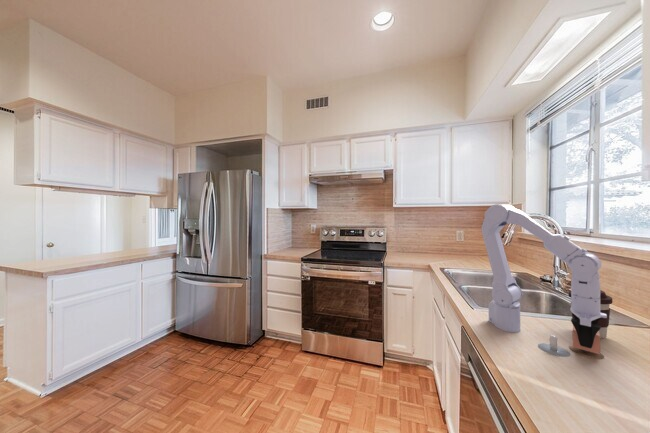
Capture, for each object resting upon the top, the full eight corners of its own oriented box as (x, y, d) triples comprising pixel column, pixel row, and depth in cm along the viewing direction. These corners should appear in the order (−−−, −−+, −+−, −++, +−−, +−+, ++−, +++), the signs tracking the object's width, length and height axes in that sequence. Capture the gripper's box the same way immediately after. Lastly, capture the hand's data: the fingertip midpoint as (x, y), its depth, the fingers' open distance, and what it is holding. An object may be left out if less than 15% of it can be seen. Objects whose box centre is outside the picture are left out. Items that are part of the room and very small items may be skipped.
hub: (562, 348, 74) (561, 332, 74) (584, 347, 74) (584, 331, 74) (587, 362, 67) (587, 344, 67) (612, 361, 67) (612, 344, 67)
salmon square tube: (572, 347, 70) (572, 329, 70) (573, 340, 74) (573, 323, 74) (600, 354, 66) (599, 335, 66) (599, 346, 70) (598, 329, 70)
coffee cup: (598, 344, 75) (597, 295, 75) (561, 329, 85) (560, 286, 85) (621, 340, 78) (620, 293, 77) (582, 326, 87) (582, 284, 87)
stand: (531, 346, 75) (531, 330, 75) (554, 345, 75) (553, 330, 75) (553, 359, 68) (553, 342, 68) (577, 359, 68) (577, 342, 68)
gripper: (608, 306, 62) (608, 359, 62) (605, 292, 72) (605, 338, 72) (569, 299, 67) (569, 348, 67) (571, 287, 77) (571, 330, 77)
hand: (585, 342), depth 70 cm, fingers closed on salmon square tube, 5 cm apart
